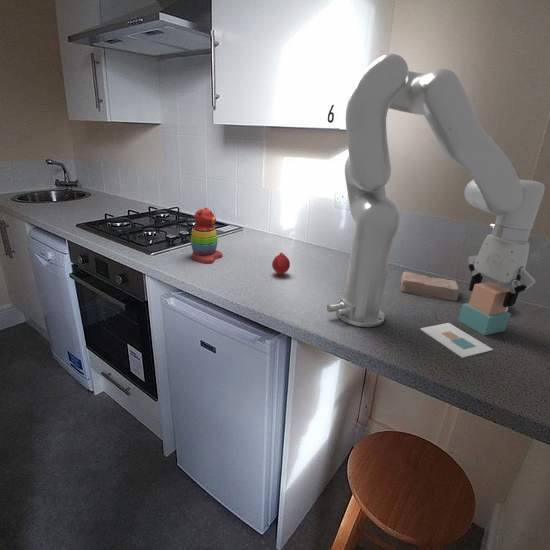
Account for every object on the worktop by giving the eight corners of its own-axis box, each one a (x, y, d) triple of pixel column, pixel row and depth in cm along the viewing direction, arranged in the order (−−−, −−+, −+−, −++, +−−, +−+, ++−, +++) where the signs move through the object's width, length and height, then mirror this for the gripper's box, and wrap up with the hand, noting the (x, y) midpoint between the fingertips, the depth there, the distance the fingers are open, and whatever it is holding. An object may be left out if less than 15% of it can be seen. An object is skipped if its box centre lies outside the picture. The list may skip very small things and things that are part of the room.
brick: (453, 292, 116) (456, 278, 115) (457, 302, 109) (461, 288, 107) (399, 283, 121) (402, 270, 119) (400, 293, 113) (403, 279, 111)
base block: (483, 335, 91) (489, 317, 89) (457, 320, 97) (462, 303, 96) (505, 330, 94) (511, 313, 92) (478, 316, 101) (483, 300, 99)
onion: (273, 270, 123) (275, 248, 120) (290, 273, 122) (292, 250, 119) (269, 276, 118) (271, 253, 114) (287, 279, 117) (289, 255, 114)
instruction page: (462, 357, 81) (462, 356, 81) (419, 329, 92) (420, 328, 91) (492, 350, 84) (493, 349, 84) (448, 323, 95) (448, 322, 95)
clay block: (488, 315, 90) (495, 293, 88) (468, 304, 95) (474, 284, 93) (504, 312, 92) (512, 291, 90) (484, 302, 97) (490, 281, 95)
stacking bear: (210, 264, 124) (210, 213, 118) (184, 259, 127) (183, 209, 120) (224, 255, 134) (225, 208, 127) (200, 251, 137) (199, 204, 130)
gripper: (468, 224, 92) (452, 286, 98) (536, 245, 77) (512, 315, 84) (488, 223, 95) (471, 283, 101) (558, 243, 80) (532, 311, 87)
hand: (489, 297), depth 93 cm, fingers open, 9 cm apart
